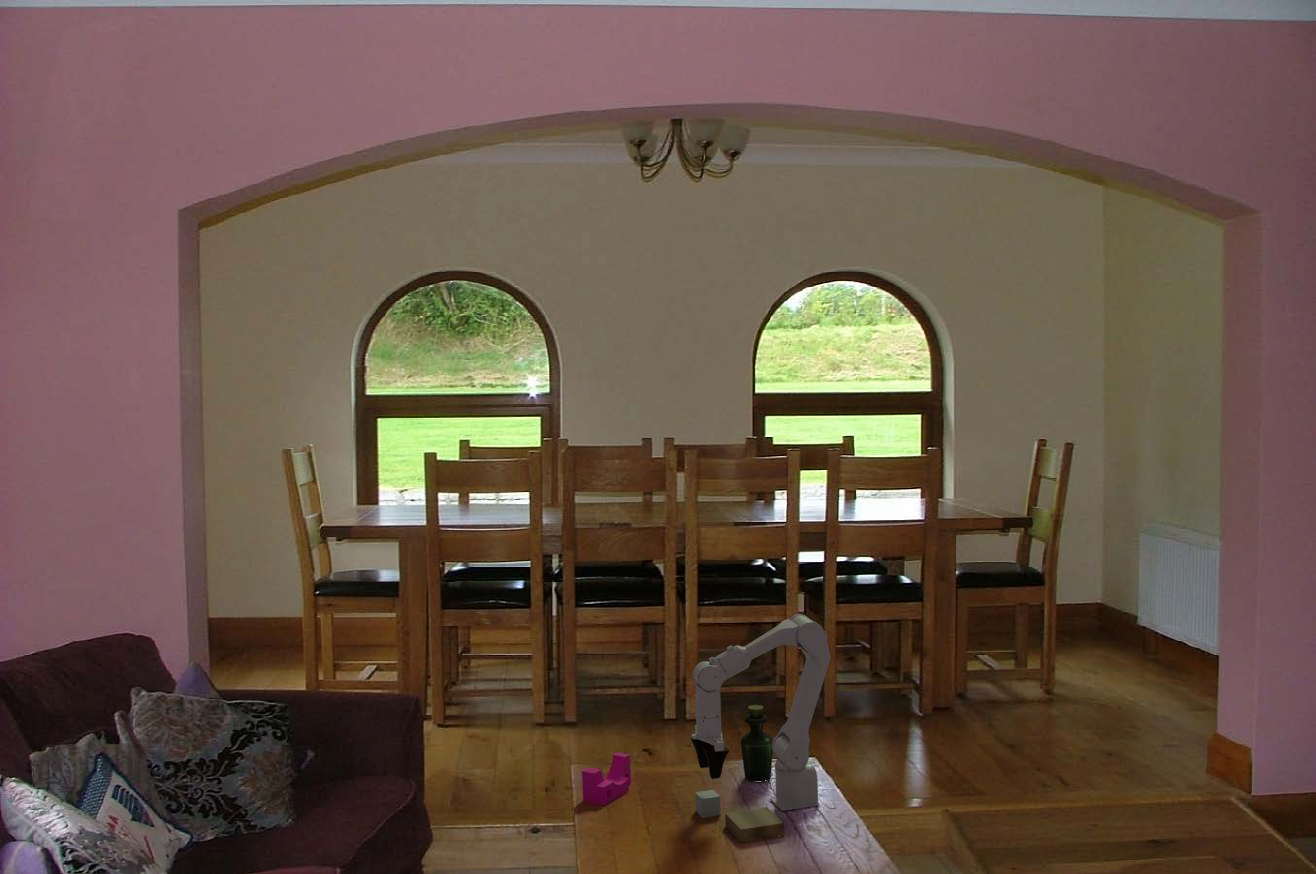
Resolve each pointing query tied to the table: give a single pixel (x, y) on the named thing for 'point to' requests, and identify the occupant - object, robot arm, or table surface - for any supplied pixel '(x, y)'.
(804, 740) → the robot arm
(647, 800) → the table surface
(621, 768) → the toy block
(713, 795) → the gray cube
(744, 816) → the base block
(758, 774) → the potion bottle
